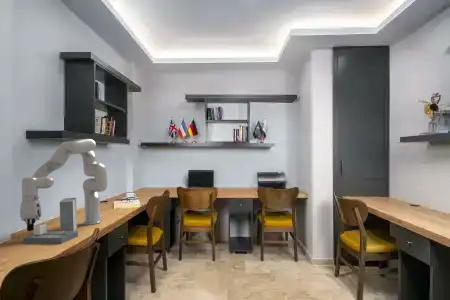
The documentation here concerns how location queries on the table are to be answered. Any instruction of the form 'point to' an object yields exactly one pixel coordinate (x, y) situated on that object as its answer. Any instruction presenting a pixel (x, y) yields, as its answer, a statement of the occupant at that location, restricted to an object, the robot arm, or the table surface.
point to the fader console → (51, 237)
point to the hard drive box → (68, 214)
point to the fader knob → (40, 229)
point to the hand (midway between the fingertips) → (30, 230)
